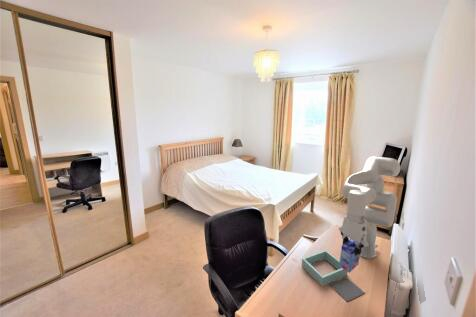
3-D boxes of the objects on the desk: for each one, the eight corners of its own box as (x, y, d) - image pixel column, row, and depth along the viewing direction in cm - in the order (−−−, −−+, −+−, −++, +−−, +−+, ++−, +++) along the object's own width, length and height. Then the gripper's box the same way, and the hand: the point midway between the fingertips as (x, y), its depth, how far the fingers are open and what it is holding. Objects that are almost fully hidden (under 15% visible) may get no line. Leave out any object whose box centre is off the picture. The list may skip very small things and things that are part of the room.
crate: (325, 257, 130) (325, 249, 129) (347, 275, 116) (347, 267, 115) (301, 265, 124) (302, 258, 123) (322, 286, 109) (322, 277, 108)
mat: (346, 277, 114) (346, 276, 114) (364, 293, 105) (364, 292, 105) (329, 284, 110) (329, 284, 110) (347, 302, 100) (347, 301, 100)
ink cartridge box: (350, 273, 99) (352, 246, 96) (338, 267, 103) (341, 241, 100) (359, 264, 105) (362, 238, 102) (348, 258, 109) (351, 233, 106)
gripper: (378, 223, 92) (373, 259, 96) (345, 207, 107) (342, 238, 111) (367, 227, 89) (362, 263, 93) (334, 210, 104) (331, 242, 108)
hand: (351, 249), depth 102 cm, fingers closed on ink cartridge box, 6 cm apart
